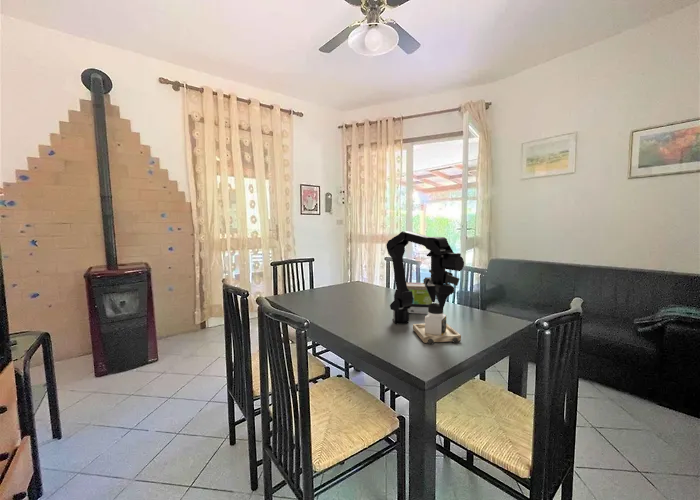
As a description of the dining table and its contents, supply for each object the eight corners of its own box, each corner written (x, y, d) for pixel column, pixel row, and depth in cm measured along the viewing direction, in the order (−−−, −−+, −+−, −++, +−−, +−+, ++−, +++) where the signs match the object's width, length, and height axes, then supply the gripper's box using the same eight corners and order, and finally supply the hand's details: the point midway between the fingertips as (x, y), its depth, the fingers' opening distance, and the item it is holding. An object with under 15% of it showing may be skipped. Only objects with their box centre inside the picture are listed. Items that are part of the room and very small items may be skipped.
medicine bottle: (441, 336, 122) (442, 307, 120) (424, 333, 125) (424, 305, 124) (446, 331, 128) (446, 303, 126) (429, 328, 131) (429, 301, 130)
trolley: (424, 344, 117) (425, 338, 117) (412, 329, 134) (412, 323, 134) (462, 342, 119) (462, 336, 118) (444, 327, 136) (444, 321, 135)
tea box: (402, 313, 157) (402, 285, 155) (401, 308, 167) (401, 281, 165) (432, 314, 155) (432, 286, 153) (429, 308, 165) (430, 282, 163)
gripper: (467, 271, 115) (466, 311, 117) (447, 264, 134) (447, 298, 135) (439, 272, 114) (438, 312, 116) (423, 264, 133) (422, 299, 134)
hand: (437, 305), depth 125 cm, fingers open, 9 cm apart
